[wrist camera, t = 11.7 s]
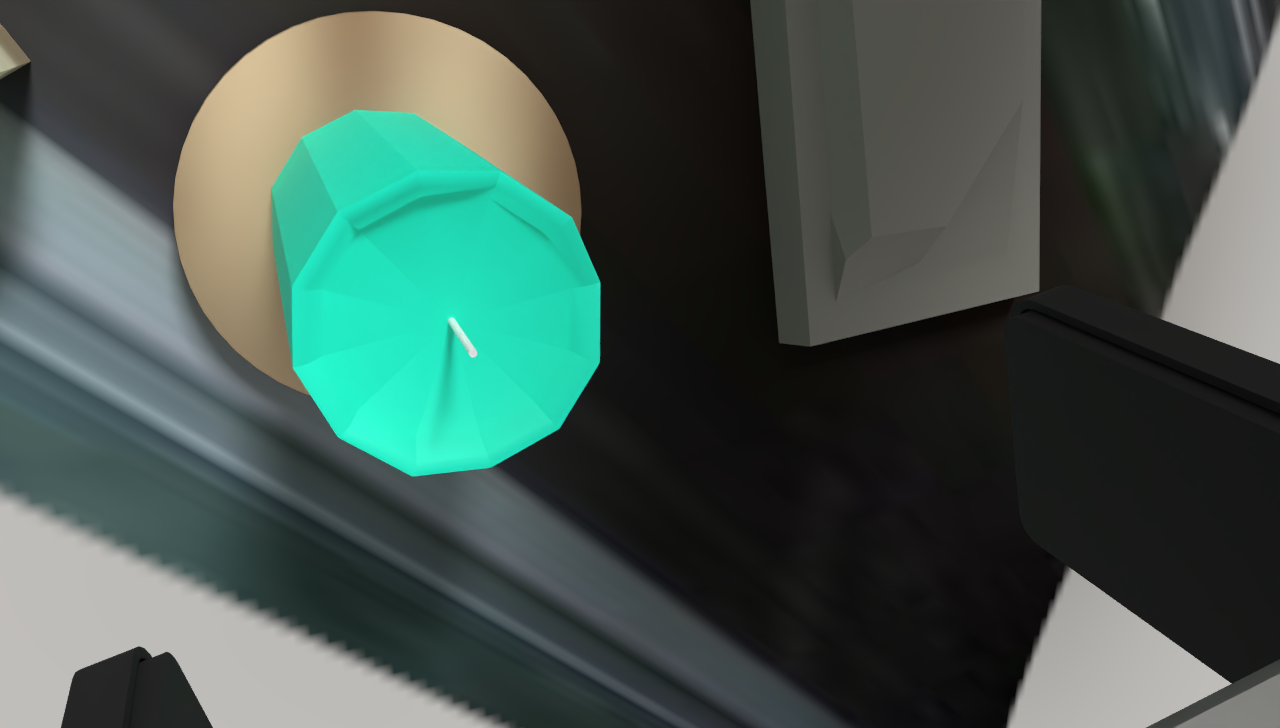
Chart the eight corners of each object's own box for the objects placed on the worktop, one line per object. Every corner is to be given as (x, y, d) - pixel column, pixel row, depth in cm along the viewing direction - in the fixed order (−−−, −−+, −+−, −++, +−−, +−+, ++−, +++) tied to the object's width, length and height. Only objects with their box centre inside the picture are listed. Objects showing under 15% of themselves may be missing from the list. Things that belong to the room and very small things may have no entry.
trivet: (512, -35, 29) (522, -36, 28) (607, 322, 33) (619, 333, 32) (103, 75, 26) (98, 79, 25) (266, 445, 31) (267, 462, 30)
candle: (456, 344, 30) (575, 532, 20) (243, 294, 28) (250, 480, 17) (517, 147, 29) (679, 235, 19) (301, 76, 27) (346, 132, 16)
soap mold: (767, 341, 36) (816, 374, 33) (707, -326, 29) (764, -364, 26) (1011, 277, 39) (1077, 301, 36) (1016, -347, 32) (1101, -384, 28)
